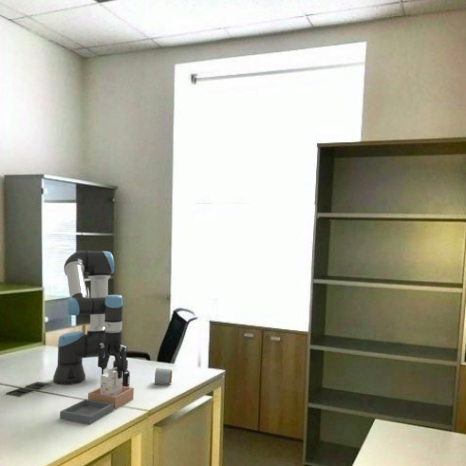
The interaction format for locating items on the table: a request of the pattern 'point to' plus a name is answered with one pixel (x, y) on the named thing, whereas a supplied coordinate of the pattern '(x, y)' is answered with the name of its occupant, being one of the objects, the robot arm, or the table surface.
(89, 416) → the tray
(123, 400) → the square wooden frame
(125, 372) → the ink bottle
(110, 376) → the ink cartridge box
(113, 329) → the robot arm
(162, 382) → the ceramic mug
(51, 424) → the table surface
